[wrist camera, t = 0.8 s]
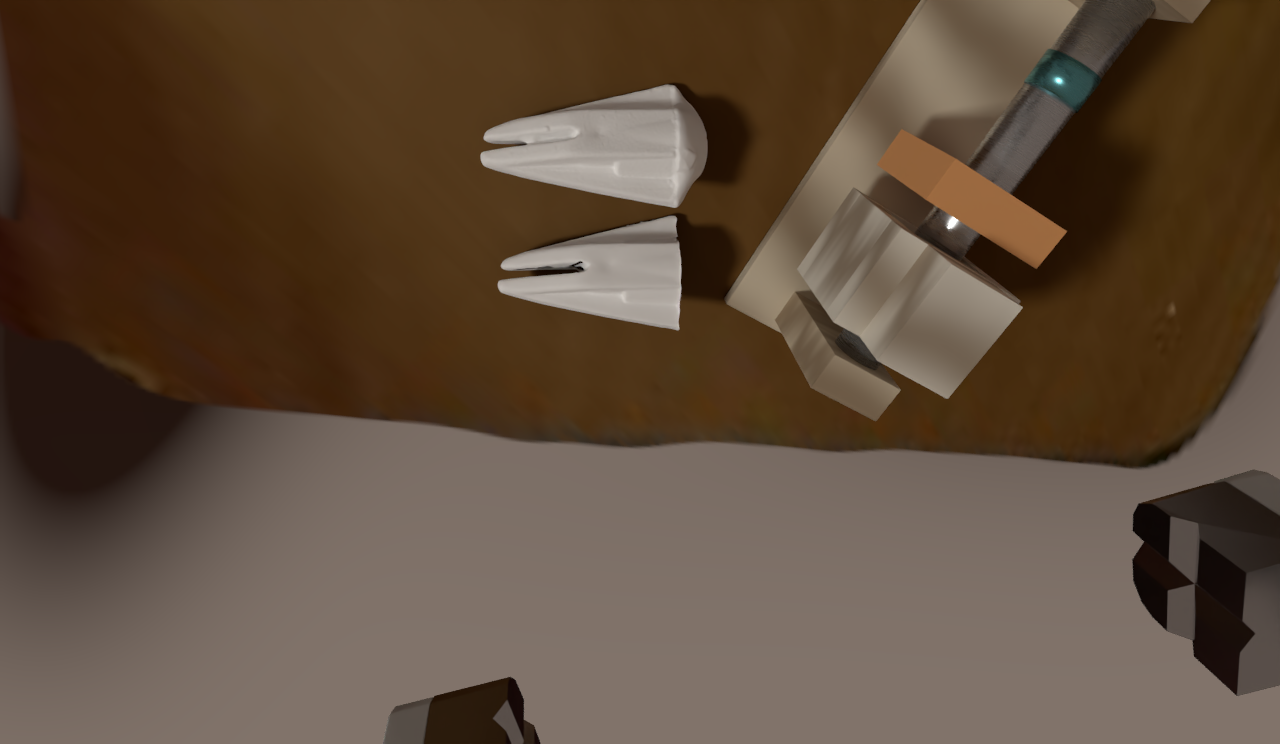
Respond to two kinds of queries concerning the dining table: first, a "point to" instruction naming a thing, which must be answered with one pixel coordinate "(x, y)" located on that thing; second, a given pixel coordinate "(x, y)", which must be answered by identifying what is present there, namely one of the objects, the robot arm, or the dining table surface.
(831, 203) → the stand
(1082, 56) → the pipe
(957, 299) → the sleeve
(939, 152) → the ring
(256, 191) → the dining table surface
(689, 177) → the pair of white wedges
